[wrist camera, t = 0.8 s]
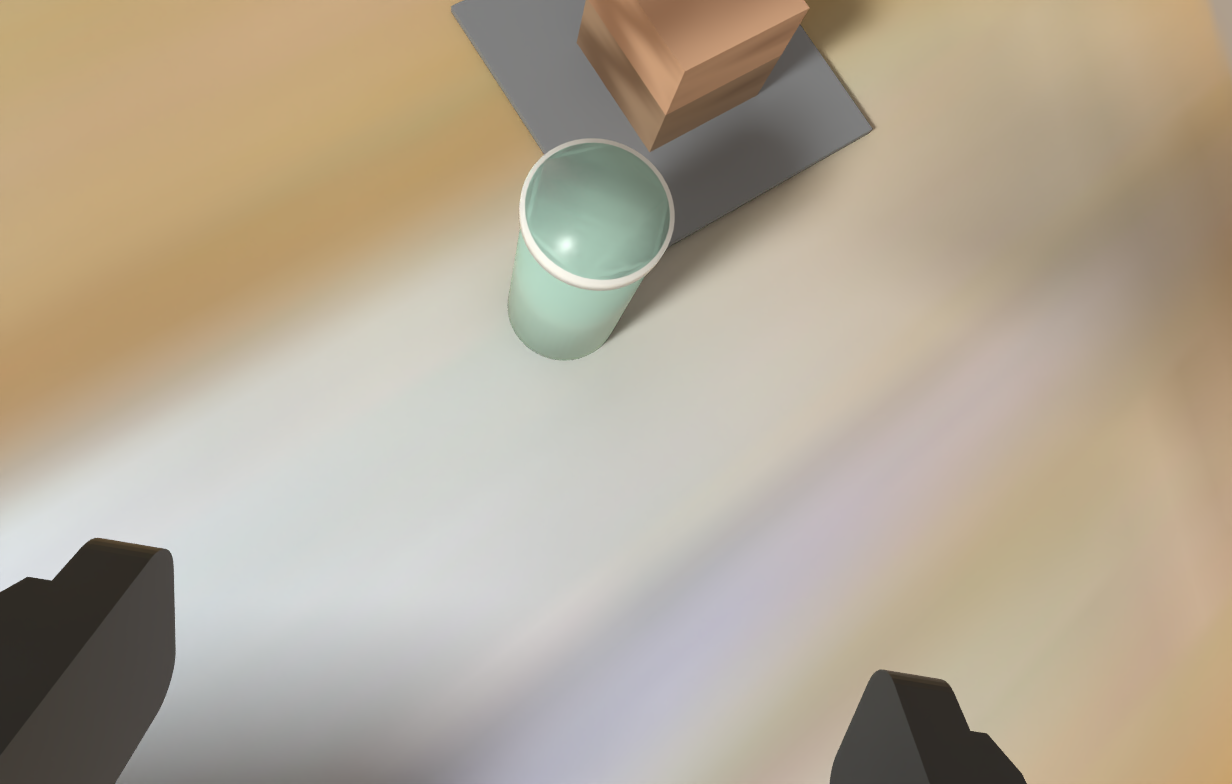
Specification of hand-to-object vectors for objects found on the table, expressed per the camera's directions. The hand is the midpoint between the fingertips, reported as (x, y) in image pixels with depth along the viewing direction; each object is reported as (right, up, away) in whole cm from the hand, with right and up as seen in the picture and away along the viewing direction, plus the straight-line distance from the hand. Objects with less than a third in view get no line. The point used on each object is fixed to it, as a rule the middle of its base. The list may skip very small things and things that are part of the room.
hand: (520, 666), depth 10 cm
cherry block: (+4, +18, +27) cm, 33 cm away
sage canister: (-1, +7, +28) cm, 28 cm away
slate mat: (+3, +18, +31) cm, 36 cm away
